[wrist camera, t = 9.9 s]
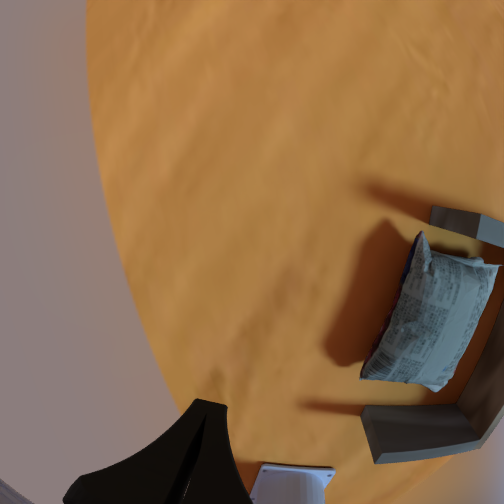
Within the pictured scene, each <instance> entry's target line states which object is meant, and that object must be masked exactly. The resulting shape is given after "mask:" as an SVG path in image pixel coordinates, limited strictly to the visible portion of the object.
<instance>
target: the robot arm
mask: <svg viewBox="0 0 504 504" xmlns="http://www.w3.org/2000/svg"><path fill="white" fill-rule="evenodd" d="M227 408H228V407H227V406H226V405H224V404H219V403H215V402H210V401H206V400H202V399H198V398H197V399H195V400H194V401H193V402H192V404H191V405H190V406H189V408H188V409H187V410H186V411H185V413H184V414H183V415H182V416H181V417H180V418H179V419H178V420H177V421H176V422H175V423H174V424H173V425H172V426H171V427H170V428H169V429H168V430H167V431H166V432H165V433H164V434H162V435H161V436H160V437H159V438H157V439H156V440H155V441H154V442H152V443H151V444H149V445H148V446H147V447H145V448H144V449H142V450H141V451H139V452H137V453H136V454H134V455H132V456H131V457H129V458H127V459H125V460H123V461H121V462H119V463H116V464H114V465H112V466H109V467H107V468H104V469H102V470H99V471H95V472H92V473H89V474H85V475H82V476H80V477H79V478H78V479H77V480H76V481H75V482H74V483H73V484H72V485H71V486H70V488H69V489H68V491H67V493H66V494H65V496H64V497H63V503H64V504H325V496H324V489H325V487H326V486H327V484H328V483H329V482H330V480H331V479H332V477H333V476H334V474H335V473H336V470H335V469H334V468H310V467H295V466H283V465H274V464H263V465H261V468H260V470H259V473H258V476H257V478H256V481H255V483H254V486H253V488H252V491H251V493H250V496H249V494H248V492H247V490H246V489H245V487H244V484H243V482H242V480H241V477H240V475H239V472H238V470H237V467H236V464H235V461H234V458H233V454H232V450H231V446H230V441H229V436H228V429H227ZM190 479H191V480H190ZM188 484H189V485H188ZM187 486H188V488H187ZM186 489H187V490H186ZM185 492H186V493H185ZM184 495H185V496H184ZM0 504H34V503H32V502H31V501H29V500H28V499H27V498H25V497H24V496H22V495H21V494H19V493H18V492H17V491H15V490H14V489H13V488H11V487H10V486H9V485H8V484H6V483H5V482H4V481H2V480H1V479H0Z"/></svg>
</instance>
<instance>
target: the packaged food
mask: <svg viewBox="0 0 504 504" xmlns="http://www.w3.org/2000/svg"><path fill="white" fill-rule="evenodd" d="M483 262H484V261H483V259H482V258H481V257H471V258H465V257H459V256H452V255H447V254H442V253H439V252H436V251H433V250H430V247H429V244H428V241H427V239H426V238H425V236H424V232H423V231H420V232H419V234H418V235H417V236H416V237H415V241H414V243H413V246H412V248H411V250H410V253H409V256H408V259H407V262H406V265H405V268H404V271H403V274H402V277H401V280H400V283H399V287H398V290H397V292H396V296H395V298H394V301H393V306H392V308H391V310H390V312H389V313H388V315H387V317H386V319H385V321H384V324H383V325H382V328H381V330H380V332H379V334H378V336H377V338H376V340H375V341H374V343H373V345H372V348H371V349H370V351H369V353H368V355H367V357H366V359H365V361H364V364H363V366H362V369H361V372H360V380H362V379H367V380H382V381H393V382H404V383H406V384H407V383H416V384H421V385H423V386H425V387H427V388H429V389H430V390H432V391H433V392H438V391H439V390H440V389H441V388H442V387H444V386H445V385H446V384H447V383H448V380H449V379H451V378H452V377H453V375H454V373H455V370H456V368H457V365H458V362H459V359H460V358H461V357H462V355H463V354H464V352H465V350H466V348H467V346H468V344H469V342H470V340H471V338H472V336H473V334H474V332H475V329H476V327H477V325H478V321H479V318H480V316H481V314H482V312H483V310H484V308H485V306H486V304H487V301H488V299H489V296H490V294H491V292H492V290H493V285H494V282H495V278H496V274H497V271H498V267H499V266H503V265H492V264H484V263H483Z"/></svg>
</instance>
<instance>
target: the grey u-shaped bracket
mask: <svg viewBox="0 0 504 504" xmlns="http://www.w3.org/2000/svg"><path fill="white" fill-rule="evenodd" d="M429 225H432V226H436V227H439V228H443V229H446V230H449V231H453V232H456V233H459V234H463V235H466V236H469V237H472V238H475V239H478V240H481V241H484V242H488V243H491V244H494V245H496V246H499V247H502V248H504V223H502V222H500V221H498V220H495V219H493V218H490V217H488V216H485V215H482V214H478V213H473V212H468V211H462V210H456V209H450V208H444V207H438V206H432V211H431V217H430V221H429ZM503 415H504V300H503V303H502V306H501V308H500V311H499V314H498V317H497V319H496V322H495V325H494V327H493V330H492V332H491V335H490V337H489V339H488V342H487V344H486V346H485V348H484V351H483V353H482V355H481V357H480V359H479V361H478V363H477V366H476V368H475V370H474V372H473V374H472V375H471V377H470V379H469V381H468V383H467V385H466V387H465V389H464V390H463V392H462V394H461V396H460V397H459V399H458V401H457V403H456V404H443V405H422V406H373V405H366V406H365V408H364V410H363V412H362V414H361V416H360V417H361V420H362V424H363V427H364V430H365V433H366V437H367V440H368V443H369V447H370V450H371V454H372V457H373V461H374V464H385V463H397V462H407V461H416V460H423V459H430V458H436V457H442V456H447V455H453V454H458V453H462V452H467V451H471V450H475V449H479V448H481V446H482V445H483V444H484V443H485V441H486V440H487V438H488V437H489V436H490V434H491V433H492V432H493V430H494V429H495V427H496V426H497V424H498V423H499V422H500V420H501V419H502V417H503Z"/></svg>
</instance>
